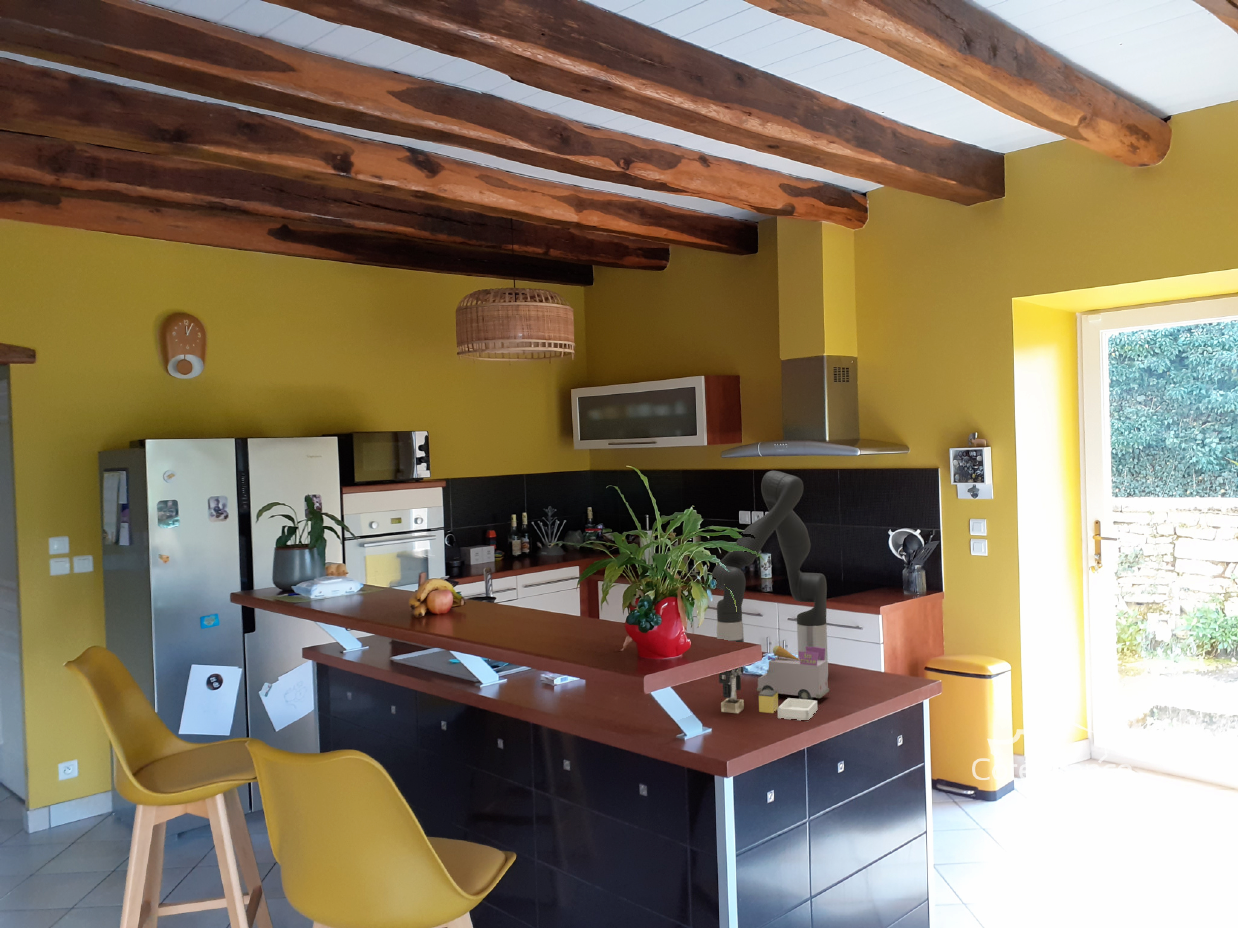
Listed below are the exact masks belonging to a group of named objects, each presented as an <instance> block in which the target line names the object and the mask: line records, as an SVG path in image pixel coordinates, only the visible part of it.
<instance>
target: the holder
mask: <svg viewBox="0 0 1238 928" xmlns="http://www.w3.org/2000/svg"><path fill="white" fill-rule="evenodd" d="M744 700H745V699H739V698H737V703H736V704H735V703H728V698H726V699H725V698H724V700H722V702H721V703H720V710H721V713H731V714H739V713H741V712H742V711H743V710H744V709H745V703H744V702H745V701H744Z"/></svg>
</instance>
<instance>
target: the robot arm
mask: <svg viewBox="0 0 1238 928" xmlns="http://www.w3.org/2000/svg"><path fill="white" fill-rule="evenodd" d="M760 486H761V487H760V489H761V490H760V491H761V494H762V498H763V501H764V503H765V505H766V507H767V510H768V512H767V513H766V514H764V515H763V516H762V517H760V518H758V519H757V520H756V521H754V522H752V523H751V524H749V525H748V526H747V527H746V528H744V530H743V531H742V532H741V534H742V533H743V534H751V535H754V537H756V538H755V539H754V538H751V537H742V538H739V537H738V538H737V540H736V541H735V543H737V545H739V546H743V547H745V548H748V549H750V550H752V551H756V552H757V555H756V554H752V553H751V552H743V551H733V552H730V551H729V552H728V553H726V555H724V557H722V559H721V560H720V561H719V562H721V563H722V564H724V565H725V566H726V568H727V569H728V570H729V571H730V572H728V571H726V570H725V569H724V568H722V566H720V565H719V564H718V563H717V564H716V565H715V567H714V569H713V570H712V573H711V577H712V576H713V577H714V578H716V580H717V584H716V587H715V588H716V589H717V590H721V591H723V596H722V597H723V598H722V599H720V600H718V602H717V605H716V617H717V619H716V620H717V621H716V640H717V639H724V640H728V641H736V642H744V643H745V640H744V639H745V638H744V637H745V636H744V625H743V612H742V611H743V610H742V609H743V608H742V605H743V602H744V597H745V593H746V584H747V582H746V580H747V579H746V576H745V573H744V572H743V570H742V569H743V568H744V567H748V566H750V565H752V564H753V563H754V562H755V560H756V558H757V556H758V555H759V553H761V550H762V549H763V547H764V545H765V543H766V542H767V541H768V540H769V537H771V536H772V534H773V533H774V531H775V533H776V535H777V536H776V537H777V540H778V544H779V548H780V550H781V554H782V557H783V561H784V563H785V567H786V568H785V569H786V572H787V579H788V583H789V584H788V585H789V589H790V593H791V597H792V598H793V599H794V600H795V601H796V602H801V603H814V606H813V607H812V608H811V609H808V610H806V611H803V612H800V613H798V614H797V616H796V632H797V633H796V634H797V635H796V636H797V658H799V653H798V651H801V652H805V651H806V646H807V647H819V648H826V649H825V660H827V679H828V678H829V661H828V660H829V659H828V632H827V629H828V627H827V591H828V587H827V585H828V584H827V579H826V576H825V574H823V573H820V572H819V573H817V572H816V573H815V572H802V571H801V570H800V569H801V566H802V565H803V563H804V562H805V560H806V558H807V557H808V555H809V553H810V550H811V547H812V546H811V545H812V544H811V541H810V539H811V538H810V536H809V535H810V534H809V532H808V529H807V527H806V525H805V523H804V522H803V521H802V519H801V518H800V516H798V515H797V513H796V512H795V511H794V510H793V509H794V508H795V507H796V506H797V504H798V503H799V502H800V499H802V498H801V497H802V496H803V494H804V482H803V480H802V479H801V478H800V477H798V476H796V475H792V474H789V473H786V472H783V471H780V470H779V471H778V470H770V471H767V472H765V474H764V475H763V477H762V479H761V484H760ZM724 584H725V585H724ZM726 587H727V588H728V589H730V590H731V591H732V593H733V595H734V598H735V600H736V606H737V612H736V607H735V604H734V600H733V598H732V596H731V594H730V590H728V589H727V588H726ZM735 672H737V676H736V691H741V689H742V682H741V677H742V675H743V674H744V672H745V671H744V666H743V667H740V668H737V669H734V670H731V671H726V672H724V673H720V674H719V673H718V682H719V684H721V685H722V697H723V698H724V699H725V698H726V699H727V698H730V697H731V680H732V677H734V673H735Z"/></svg>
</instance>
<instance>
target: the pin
mask: <svg viewBox="0 0 1238 928" xmlns="http://www.w3.org/2000/svg"><path fill="white" fill-rule="evenodd" d="M736 676H737V672H735V673H734V677H732V680H731V697H730V698H728V703H735V704H736V703H737V699H738V698H737V690H736Z"/></svg>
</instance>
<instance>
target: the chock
mask: <svg viewBox="0 0 1238 928" xmlns="http://www.w3.org/2000/svg"><path fill="white" fill-rule="evenodd" d="M778 707H779V693H778V691H774V690H763V691H760V692H759V693H758V712H759V713H767V714H774V713H775V712H776V711H778V709H777V708H778ZM774 711H775V712H774Z"/></svg>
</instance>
